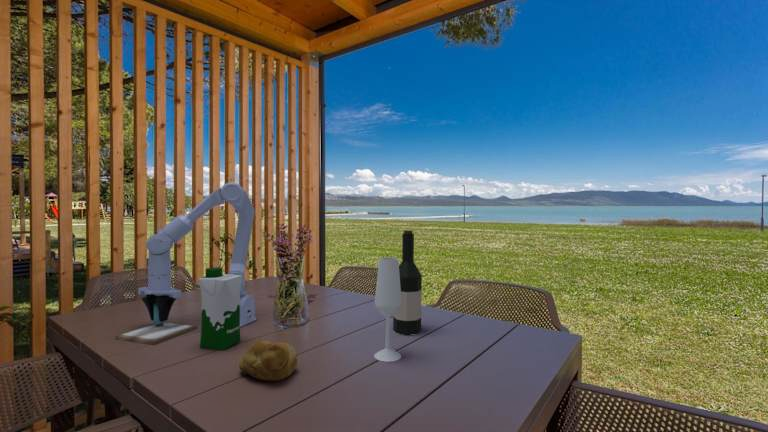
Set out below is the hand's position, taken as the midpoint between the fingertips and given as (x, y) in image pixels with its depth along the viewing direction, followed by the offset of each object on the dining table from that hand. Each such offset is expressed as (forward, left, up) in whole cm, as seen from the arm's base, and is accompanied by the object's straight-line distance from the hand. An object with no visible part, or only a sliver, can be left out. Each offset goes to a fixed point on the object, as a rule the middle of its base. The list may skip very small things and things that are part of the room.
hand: (159, 320), depth 106 cm
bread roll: (-48, +14, -3) cm, 50 cm away
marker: (0, 0, -1) cm, 1 cm away
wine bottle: (-70, -23, -3) cm, 74 cm away
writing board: (-3, +3, -3) cm, 5 cm away
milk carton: (-26, +4, -3) cm, 26 cm away
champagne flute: (-70, -3, -3) cm, 70 cm away
